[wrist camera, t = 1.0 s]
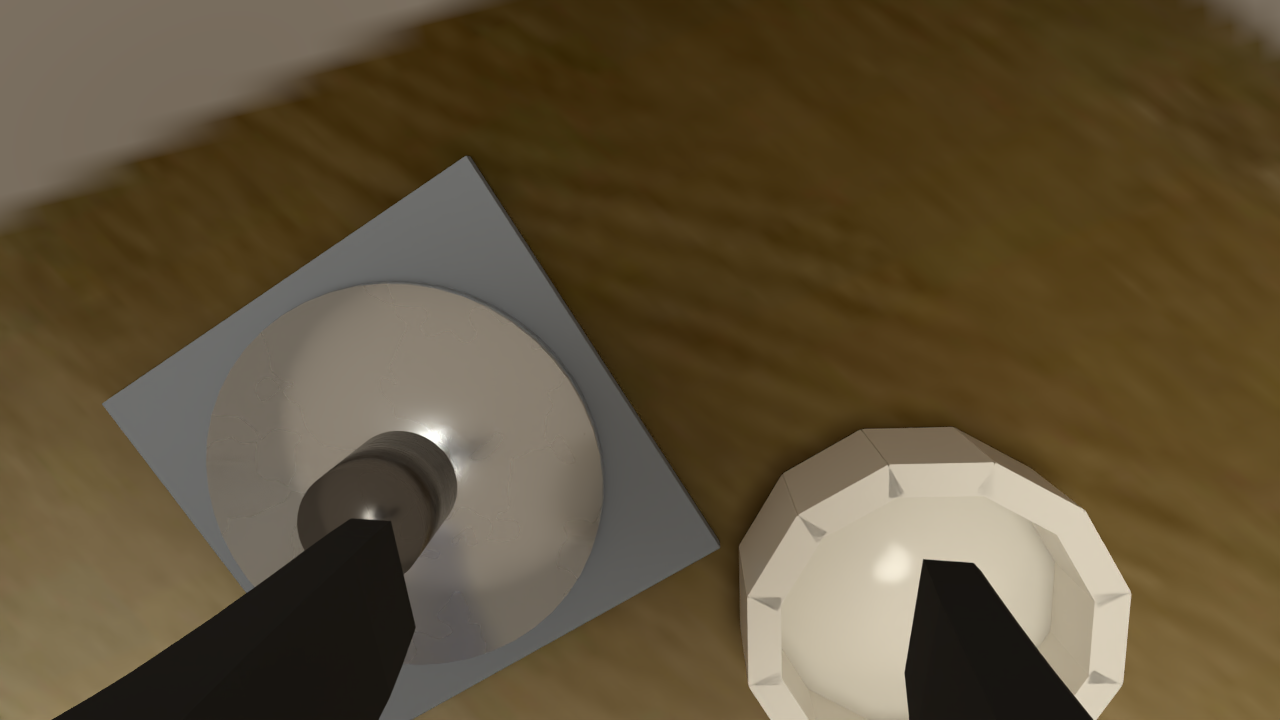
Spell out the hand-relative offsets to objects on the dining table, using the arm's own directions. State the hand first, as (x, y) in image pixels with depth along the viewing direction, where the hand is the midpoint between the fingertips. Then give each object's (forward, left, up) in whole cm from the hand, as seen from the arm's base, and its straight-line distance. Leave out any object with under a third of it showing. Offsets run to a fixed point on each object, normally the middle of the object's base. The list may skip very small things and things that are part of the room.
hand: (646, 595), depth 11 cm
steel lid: (-9, +1, -15) cm, 17 cm away
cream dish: (+3, -11, -15) cm, 19 cm away
